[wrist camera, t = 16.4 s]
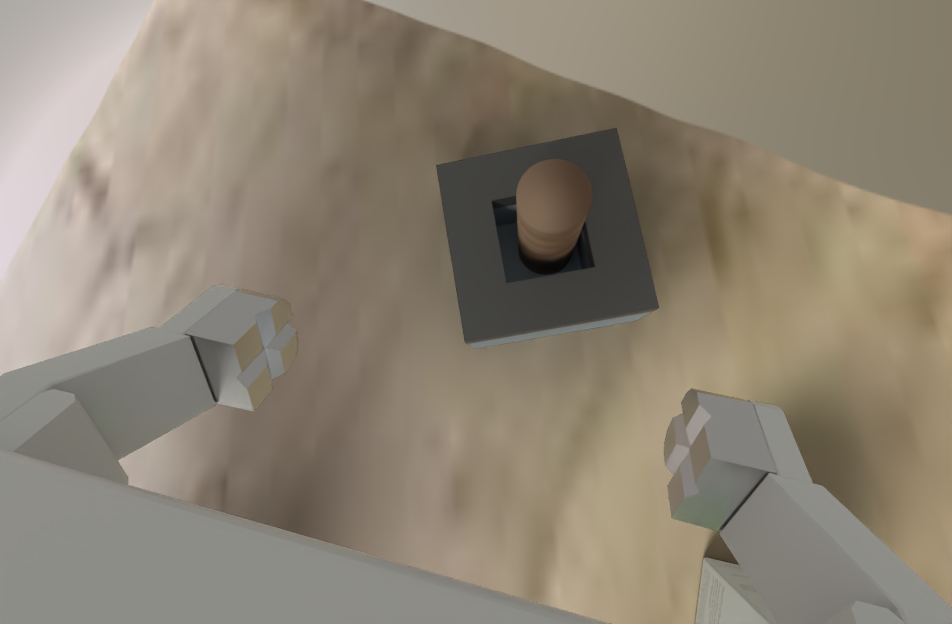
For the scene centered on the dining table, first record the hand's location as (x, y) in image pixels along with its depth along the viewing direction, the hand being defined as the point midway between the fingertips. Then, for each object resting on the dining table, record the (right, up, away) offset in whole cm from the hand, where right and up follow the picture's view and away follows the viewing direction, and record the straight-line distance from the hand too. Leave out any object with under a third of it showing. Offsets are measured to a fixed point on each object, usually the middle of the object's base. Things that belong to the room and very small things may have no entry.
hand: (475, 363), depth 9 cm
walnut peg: (+5, +6, +25) cm, 26 cm away
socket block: (+5, +5, +26) cm, 27 cm away
